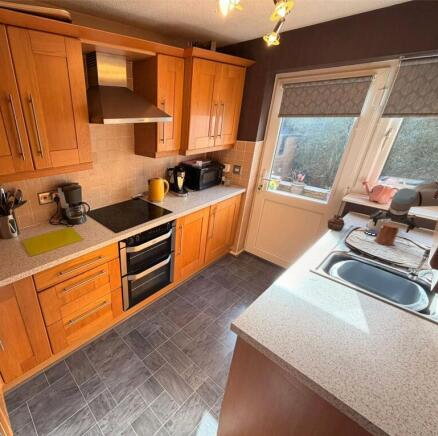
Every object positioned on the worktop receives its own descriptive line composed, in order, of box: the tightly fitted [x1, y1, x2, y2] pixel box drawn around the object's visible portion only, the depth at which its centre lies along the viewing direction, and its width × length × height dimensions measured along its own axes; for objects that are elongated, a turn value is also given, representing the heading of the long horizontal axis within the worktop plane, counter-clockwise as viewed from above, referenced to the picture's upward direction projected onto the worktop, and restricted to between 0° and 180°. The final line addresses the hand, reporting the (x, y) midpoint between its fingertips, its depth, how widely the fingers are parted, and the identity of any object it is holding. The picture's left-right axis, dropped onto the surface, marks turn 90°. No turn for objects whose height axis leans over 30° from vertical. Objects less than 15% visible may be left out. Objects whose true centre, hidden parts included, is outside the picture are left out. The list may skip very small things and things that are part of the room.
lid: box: [363, 228, 379, 238], centre depth 155 cm, size 8×8×2 cm
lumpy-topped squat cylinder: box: [367, 218, 392, 231], centre depth 162 cm, size 10×13×9 cm
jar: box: [374, 223, 400, 246], centre depth 141 cm, size 8×8×12 cm
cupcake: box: [327, 214, 346, 232], centre depth 162 cm, size 10×10×10 cm
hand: (390, 227), depth 137 cm, fingers open, 13 cm apart
